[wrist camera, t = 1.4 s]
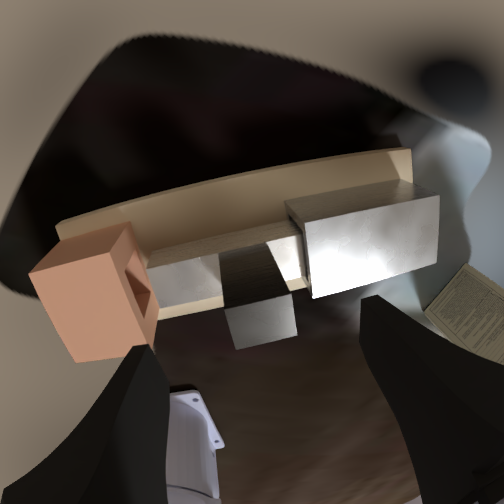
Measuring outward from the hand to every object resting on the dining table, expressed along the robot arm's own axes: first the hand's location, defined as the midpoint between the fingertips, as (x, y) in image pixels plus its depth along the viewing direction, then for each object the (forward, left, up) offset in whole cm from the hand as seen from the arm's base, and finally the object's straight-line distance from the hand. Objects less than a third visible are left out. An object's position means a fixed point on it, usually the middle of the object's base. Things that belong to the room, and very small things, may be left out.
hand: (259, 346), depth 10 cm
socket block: (0, +8, -11) cm, 14 cm away
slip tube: (0, -3, -9) cm, 9 cm away
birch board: (0, -1, -11) cm, 11 cm away
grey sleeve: (0, -7, -11) cm, 13 cm away
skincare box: (-10, -18, -11) cm, 24 cm away
